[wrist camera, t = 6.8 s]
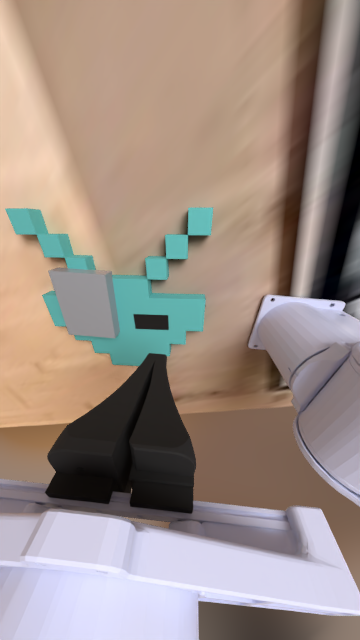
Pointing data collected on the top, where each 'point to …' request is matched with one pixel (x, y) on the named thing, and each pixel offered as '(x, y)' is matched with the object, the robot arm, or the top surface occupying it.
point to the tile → (86, 301)
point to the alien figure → (131, 292)
